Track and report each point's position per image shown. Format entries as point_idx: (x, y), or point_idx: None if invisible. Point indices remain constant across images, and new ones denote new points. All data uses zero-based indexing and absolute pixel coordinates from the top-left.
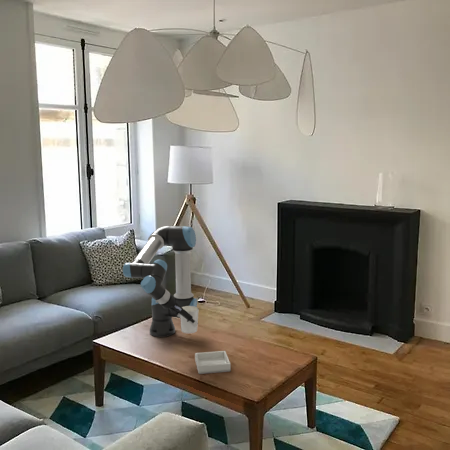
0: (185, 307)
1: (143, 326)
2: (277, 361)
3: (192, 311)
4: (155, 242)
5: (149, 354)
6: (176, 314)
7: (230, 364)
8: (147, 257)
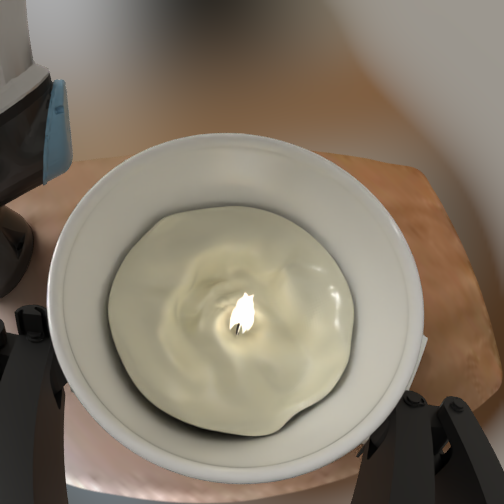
0: (92, 215)
1: None
2: (416, 217)
3: (189, 201)
4: None
5: (68, 449)
6: (64, 398)
7: (426, 339)
8: None
